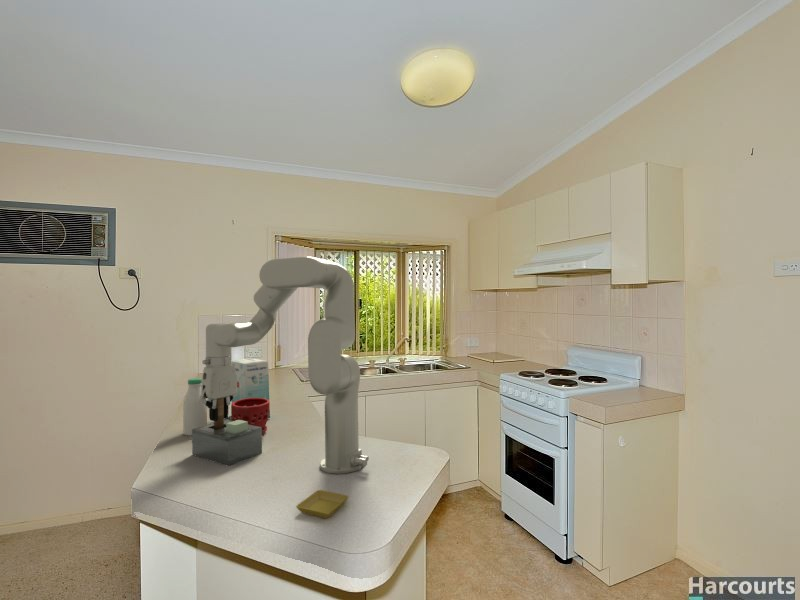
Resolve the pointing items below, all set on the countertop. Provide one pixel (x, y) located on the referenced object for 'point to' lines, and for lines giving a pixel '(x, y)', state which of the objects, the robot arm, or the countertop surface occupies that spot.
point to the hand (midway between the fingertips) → (219, 418)
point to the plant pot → (251, 411)
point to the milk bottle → (193, 408)
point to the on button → (236, 426)
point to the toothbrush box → (251, 379)
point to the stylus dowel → (219, 414)
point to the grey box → (226, 443)
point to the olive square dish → (322, 503)
